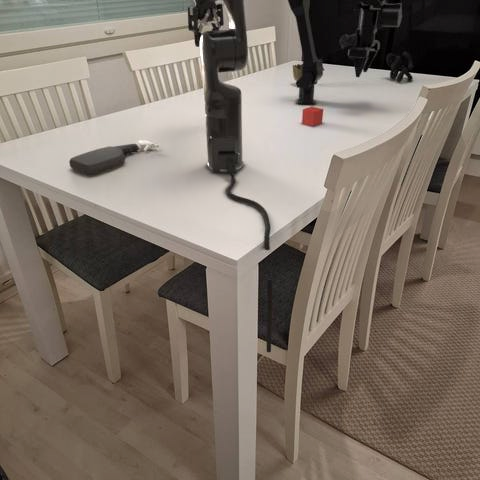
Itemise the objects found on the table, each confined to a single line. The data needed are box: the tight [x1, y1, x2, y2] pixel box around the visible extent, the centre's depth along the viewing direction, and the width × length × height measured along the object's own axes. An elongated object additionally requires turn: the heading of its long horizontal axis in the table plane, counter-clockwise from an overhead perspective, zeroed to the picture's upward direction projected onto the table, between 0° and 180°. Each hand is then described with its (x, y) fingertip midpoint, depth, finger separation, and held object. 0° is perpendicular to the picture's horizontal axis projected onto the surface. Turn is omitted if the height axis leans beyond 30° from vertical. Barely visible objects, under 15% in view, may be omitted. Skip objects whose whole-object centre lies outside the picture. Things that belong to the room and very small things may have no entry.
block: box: [301, 106, 324, 127], centre depth 148 cm, size 5×5×5 cm
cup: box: [292, 63, 303, 82], centre depth 194 cm, size 8×7×8 cm
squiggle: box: [385, 51, 414, 83], centre depth 198 cm, size 11×10×15 cm
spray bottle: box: [68, 139, 160, 177], centre depth 124 cm, size 3×11×24 cm
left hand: (207, 44), depth 133 cm, fingers open, 8 cm apart
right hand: (361, 74), depth 157 cm, fingers open, 9 cm apart
